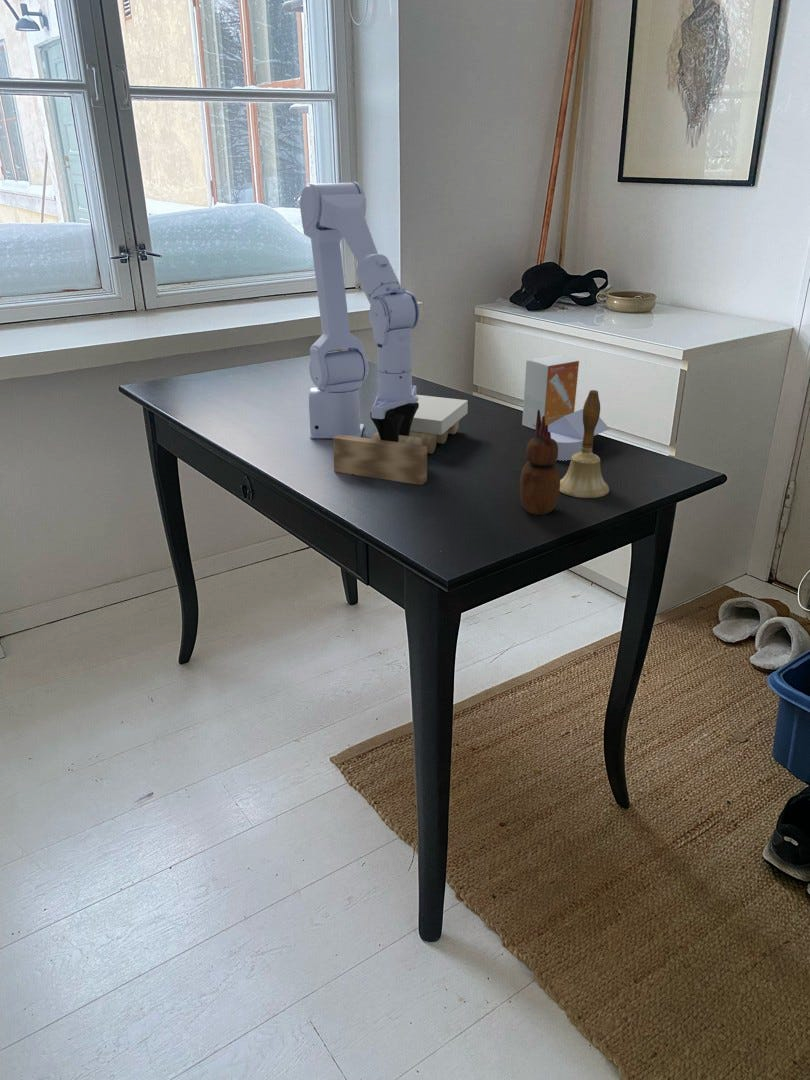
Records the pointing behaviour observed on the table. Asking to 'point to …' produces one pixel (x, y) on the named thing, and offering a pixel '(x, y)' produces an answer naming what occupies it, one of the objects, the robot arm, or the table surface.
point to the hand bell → (586, 458)
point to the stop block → (380, 459)
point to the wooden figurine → (540, 472)
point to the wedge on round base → (571, 433)
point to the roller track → (434, 437)
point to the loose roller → (402, 439)
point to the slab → (437, 414)
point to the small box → (549, 389)
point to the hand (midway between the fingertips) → (395, 448)
